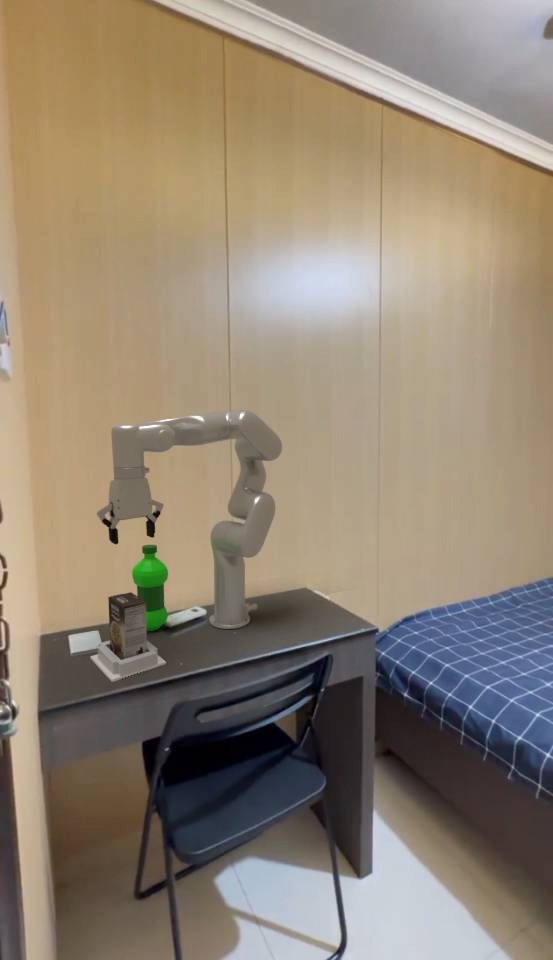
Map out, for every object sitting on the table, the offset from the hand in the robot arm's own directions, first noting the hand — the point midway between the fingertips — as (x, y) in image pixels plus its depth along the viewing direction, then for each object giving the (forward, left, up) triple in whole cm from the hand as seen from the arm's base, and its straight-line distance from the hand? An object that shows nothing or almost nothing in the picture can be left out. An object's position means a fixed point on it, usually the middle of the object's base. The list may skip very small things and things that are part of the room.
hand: (133, 539), depth 124 cm
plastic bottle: (-11, -15, -32) cm, 36 cm away
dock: (+3, +1, -31) cm, 31 cm away
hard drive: (+8, -15, -32) cm, 37 cm away
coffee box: (+3, +1, -31) cm, 31 cm away
